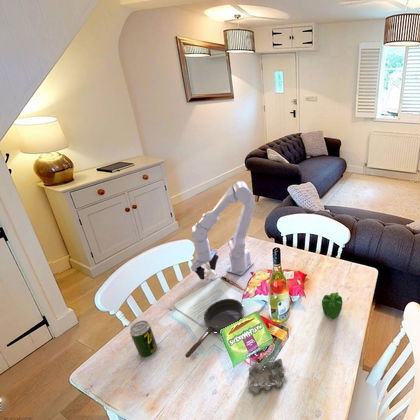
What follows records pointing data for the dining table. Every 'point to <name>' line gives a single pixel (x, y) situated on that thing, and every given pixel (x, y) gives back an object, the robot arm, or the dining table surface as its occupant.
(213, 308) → the pan
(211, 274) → the rabbit figurine
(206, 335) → the pan handle
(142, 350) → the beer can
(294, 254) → the dining table surface
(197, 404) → the dining table surface
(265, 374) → the egg carton
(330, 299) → the bell pepper
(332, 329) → the dining table surface
